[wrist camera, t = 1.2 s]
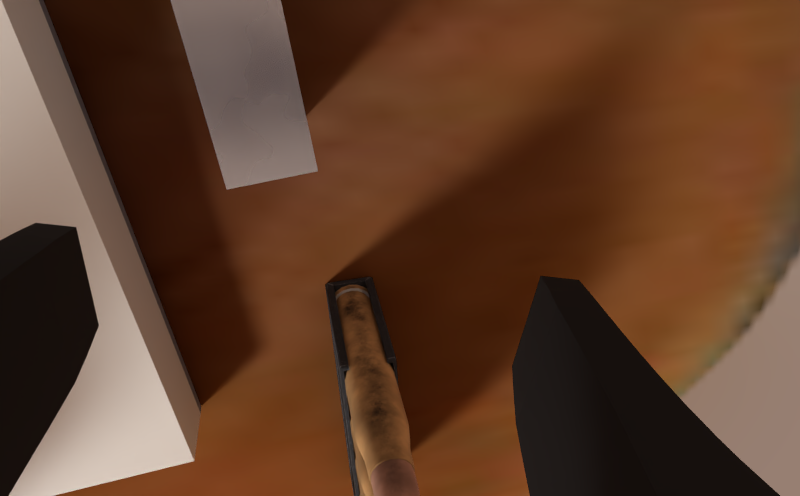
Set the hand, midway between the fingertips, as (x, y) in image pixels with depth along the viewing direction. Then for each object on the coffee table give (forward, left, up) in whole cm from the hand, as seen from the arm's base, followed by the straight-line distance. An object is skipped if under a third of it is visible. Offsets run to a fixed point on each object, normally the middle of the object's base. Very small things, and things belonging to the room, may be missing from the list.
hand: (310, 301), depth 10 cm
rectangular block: (-1, +3, -13) cm, 13 cm away
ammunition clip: (0, -12, -13) cm, 18 cm away
